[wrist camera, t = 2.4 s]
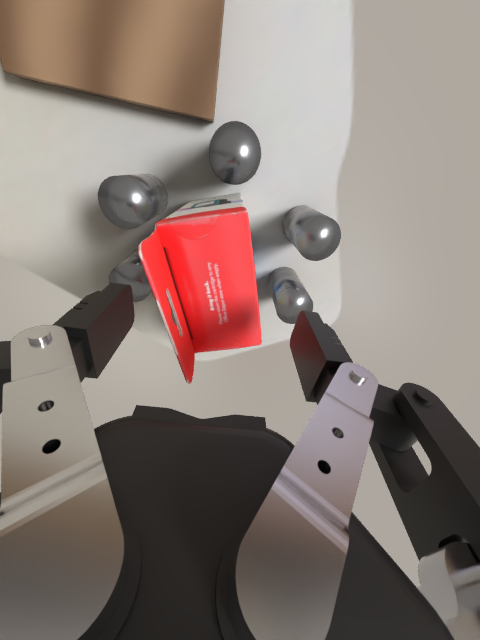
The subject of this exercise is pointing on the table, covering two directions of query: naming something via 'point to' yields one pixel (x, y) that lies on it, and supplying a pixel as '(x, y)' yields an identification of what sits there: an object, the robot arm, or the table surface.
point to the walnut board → (119, 49)
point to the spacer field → (234, 168)
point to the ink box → (204, 277)
